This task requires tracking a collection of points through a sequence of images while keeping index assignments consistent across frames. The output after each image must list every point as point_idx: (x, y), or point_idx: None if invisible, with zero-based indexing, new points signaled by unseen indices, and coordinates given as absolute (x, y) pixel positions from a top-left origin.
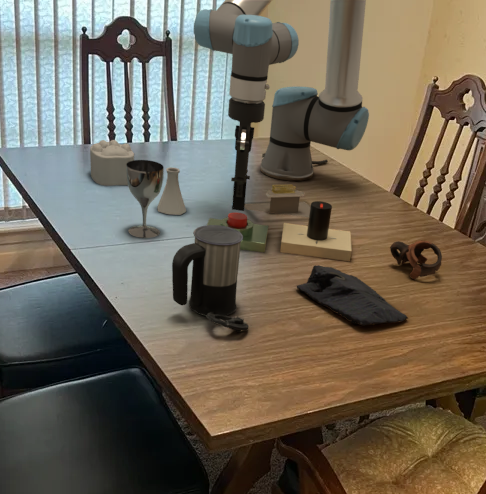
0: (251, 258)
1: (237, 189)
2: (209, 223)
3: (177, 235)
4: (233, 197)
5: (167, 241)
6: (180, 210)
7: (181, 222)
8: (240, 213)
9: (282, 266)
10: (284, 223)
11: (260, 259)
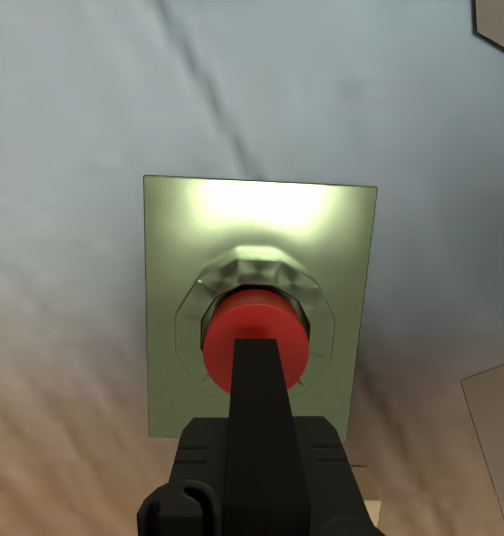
0: (91, 371)
1: (173, 479)
2: (305, 193)
3: (226, 49)
4: (232, 386)
5: (140, 7)
6: (502, 21)
7: (390, 51)
8: (297, 364)
9: (64, 469)
10: (373, 503)
11: (95, 401)
